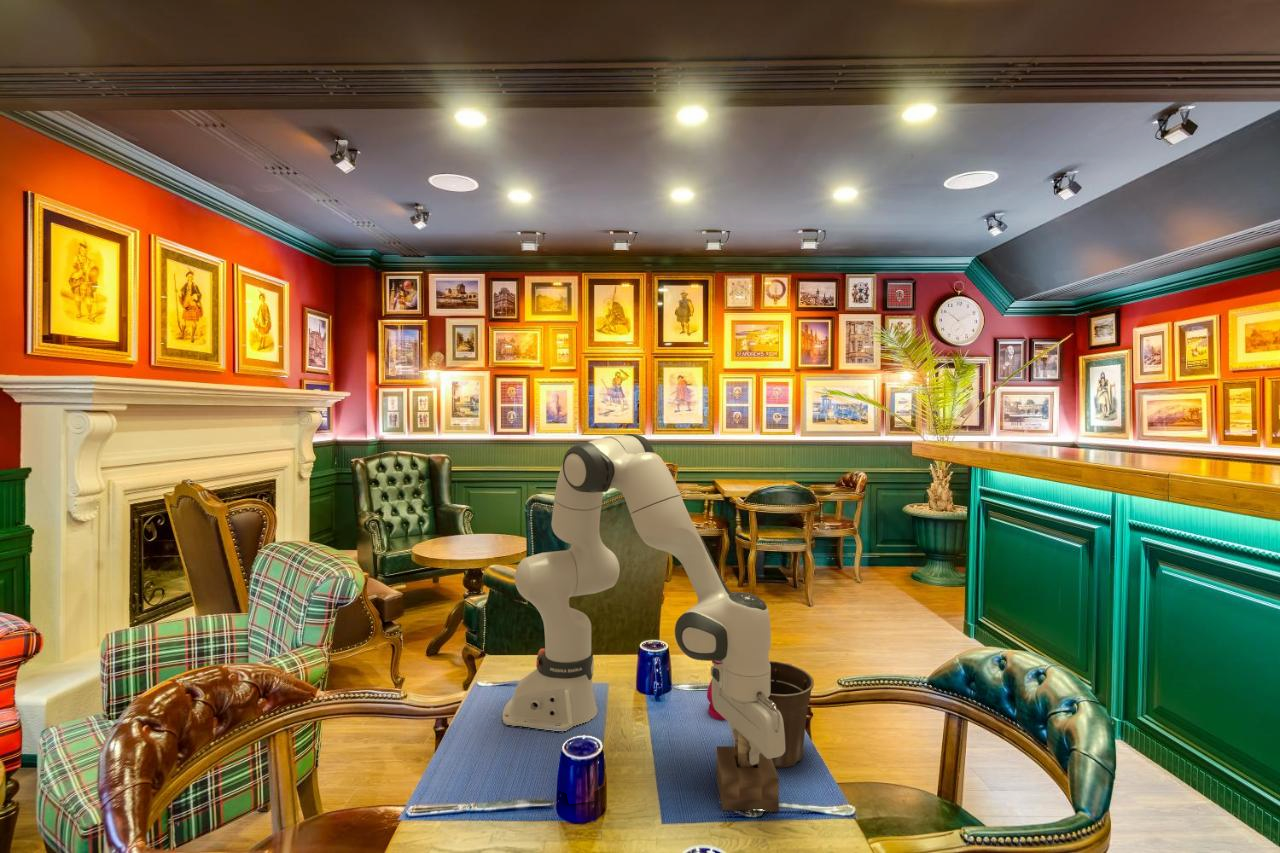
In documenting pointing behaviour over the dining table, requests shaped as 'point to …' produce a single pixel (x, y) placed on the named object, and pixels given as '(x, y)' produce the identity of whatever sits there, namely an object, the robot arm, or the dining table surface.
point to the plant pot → (791, 708)
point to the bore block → (746, 783)
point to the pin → (743, 752)
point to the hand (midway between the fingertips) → (746, 755)
